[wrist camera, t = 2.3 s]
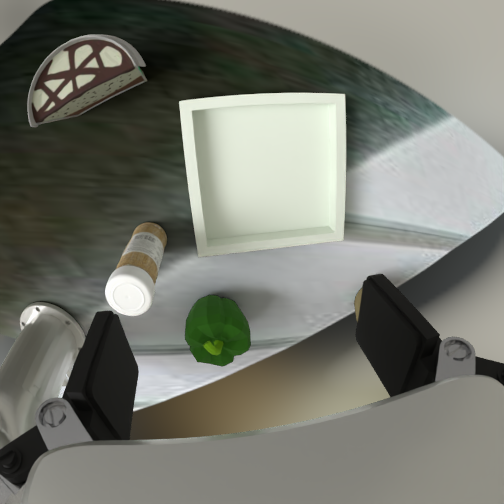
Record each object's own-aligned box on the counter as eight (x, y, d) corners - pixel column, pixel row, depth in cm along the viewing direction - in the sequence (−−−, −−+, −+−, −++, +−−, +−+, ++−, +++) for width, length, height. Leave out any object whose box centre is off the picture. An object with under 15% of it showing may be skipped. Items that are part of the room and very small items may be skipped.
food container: (143, 32, 27) (121, 6, 18) (159, 75, 30) (141, 62, 21) (53, 80, 27) (10, 76, 18) (68, 121, 30) (26, 129, 21)
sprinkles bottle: (128, 245, 38) (98, 305, 26) (141, 215, 36) (112, 267, 24) (159, 259, 39) (142, 325, 27) (173, 230, 38) (160, 288, 26)
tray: (334, 231, 41) (343, 240, 38) (198, 246, 39) (198, 257, 37) (334, 94, 33) (344, 94, 30) (181, 102, 31) (179, 101, 29)
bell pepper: (249, 325, 46) (259, 374, 37) (196, 336, 46) (196, 386, 37) (238, 278, 42) (247, 325, 33) (180, 291, 42) (175, 339, 33)
